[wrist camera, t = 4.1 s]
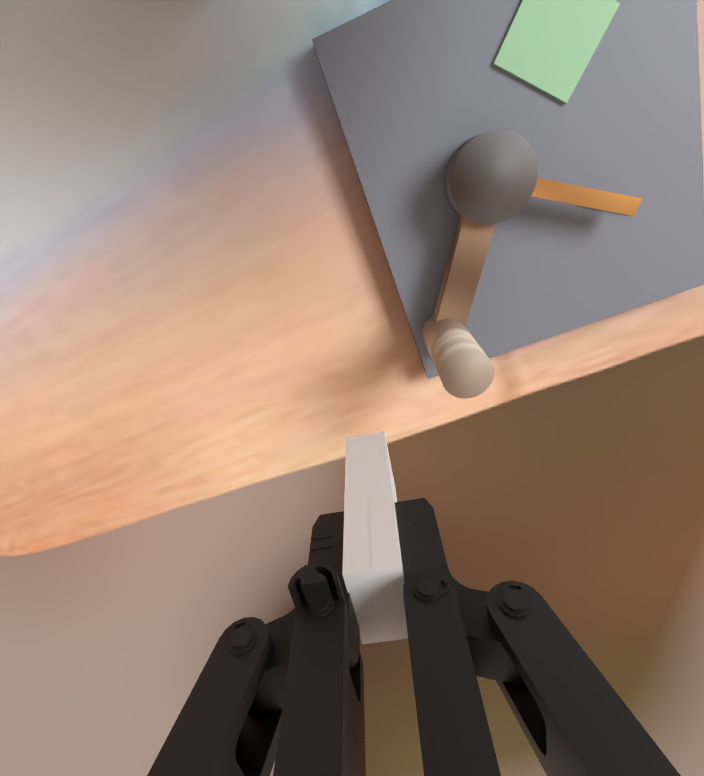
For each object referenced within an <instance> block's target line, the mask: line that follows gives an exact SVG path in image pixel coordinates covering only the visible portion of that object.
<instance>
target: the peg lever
mask: <svg viewBox="0 0 704 776" xmlns="http://www.w3.org/2000/svg"><path fill="white" fill-rule="evenodd" d="M537 177H538V164H537V158H536V155H535V152H534V150H533V148H532V146H531V145H530V144H529V142H528V141H527V140H526V139H525V138H524V137H522V136H521V135H520V134H518V133H516V132H513V131H510V130H504V129H497V130H491V131H488V132H485V133H482V134H480V135H477V136H474V137H472V138H470V139H469V140H467V141H465V142H464V143H463V144H462V145H461V146H460V147H459V148H458V149H457V150H456V151H455V153H454V154H453V156H452V157H451V159H450V161H449V163H448V166H447V169H446V173H445V182H444V184H445V192H446V196H447V199H448V201H449V203H450V205H451V206H452V208H453V209H454V210H455V211H456V212H457V213H458V214H459V219H458V223H457V227H456V231H455V235H454V238H453V242H452V246H451V250H450V254H449V258H448V261H447V265H446V269H445V273H444V277H443V281H442V285H441V288H440V292H439V296H438V300H437V304H436V308H435V311H434V314H433V315H432V316H430V317H429V318H428V319H427V320H426V322H425V324H424V326H423V329H422V336H423V339H424V342H425V344H426V346H427V349H428V351H429V353H430V356H431V358H432V360H433V363H434V365H435V367H436V369H437V372H438V374H439V376H440V379H441V381H442V383H443V386H444V388H445V389H446V390H447V391H448V392H449V393H450V394H451V395H453V396H455V397H458V398H472V397H475V396H478V395H480V394H481V393H483V392H484V391H485V390H486V389H487V388H488V387H489V386H490V384H491V382H492V380H493V377H494V367H493V364H492V362H491V360H490V359H489V358H488V356H487V355H486V354H485V352H484V351H483V350H482V348H481V347H480V346H479V344H478V343H477V342H476V340H475V339H474V338H473V336H472V335H471V334H470V332H469V331H468V330H467V328H466V327H465V326H466V323H467V320H468V316H469V313H470V309H471V306H472V303H473V299H474V296H475V293H476V289H477V286H478V282H479V279H480V276H481V272H482V269H483V265H484V262H485V259H486V255H487V252H488V249H489V245H490V242H491V238H492V235H493V232H494V228H495V225H496V223H500V222H503V221H505V220H508V219H510V218H511V217H513V216H514V215H516V214H517V213H518V212H519V211H520V210H521V209H522V208H523V207H524V206H525V205H526V204H527V202H528V201H529V199H530V198H531V197H536V198H541V199H546V200H551V201H557V202H562V203H567V204H572V205H577V206H582V207H587V208H593V209H598V210H603V211H608V212H613V213H618V214H623V215H629V216H635V214H636V212H637V210H638V207H639V205H640V203H641V200H642V198H637V197H632V196H627V195H622V194H617V193H612V192H607V191H602V190H597V189H592V188H587V187H582V186H576V185H571V184H566V183H561V182H556V181H551V180H546V179H541V178H537Z"/></svg>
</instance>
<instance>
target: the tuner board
mask: <svg viewBox="0 0 704 776" xmlns="http://www.w3.org/2000/svg"><path fill="white" fill-rule="evenodd" d="M615 1H617V2H618V3H620V5H619V7H618V9H617V11H616V12H615V14H614V16H613V18H612V20H611V22H610V24H609V25H608V27H607V29H606V31H605V33H604V35H603V37H602V39H601V40H600V42H599V44H598V46H597V48H596V50H595V52H594V53H593V55H592V57H591V59H590V61H589V63H588V65H587V67H586V68H585V70H584V72H583V74H582V76H581V78H580V80H579V82H578V83H577V85H576V87H575V89H574V91H573V93H572V95H571V96H570V98H569V100H568V102H567V103H566V104H565V103H563V102H561V101H559V100H558V99H556V98H554V97H552V96H550V95H548V94H547V93H545V92H543V91H541V90H539V89H537V88H535V87H534V86H532V85H530V84H528V83H526V82H524V81H523V80H521V79H519V78H517V77H515V76H513V75H512V74H510V73H508V72H506V71H504V70H502V69H501V68H499V67H497V66H495V65H493V63H494V61H495V58H496V56H497V54H498V52H499V50H500V47H501V45H502V43H503V41H504V39H505V36H506V34H507V32H508V30H509V28H510V26H511V23H512V21H513V19H514V17H515V15H516V12H517V10H518V8H519V6H520V4H521V2H522V0H391V1H389V2H387V3H385V4H383V5H381V6H379V7H377V8H375V9H373V10H371V11H369V12H367V13H365V14H363V15H361V16H359V17H357V18H355V19H353V20H351V21H349V22H347V23H345V24H343V25H341V26H339V27H337V28H335V29H333V30H331V31H329V32H327V33H324V34H322V35H320V36H318V37H316V38H314V39H312V42H313V45H314V48H315V51H316V54H317V57H318V60H319V63H320V66H321V68H322V71H323V74H324V77H325V80H326V83H327V86H328V89H329V92H330V95H331V98H332V101H333V103H334V106H335V109H336V112H337V115H338V118H339V121H340V124H341V127H342V130H343V133H344V135H345V138H346V141H347V144H348V147H349V150H350V153H351V156H352V159H353V162H354V165H355V168H356V170H357V173H358V176H359V179H360V182H361V185H362V188H363V191H364V194H365V197H366V200H367V202H368V205H369V208H370V211H371V214H372V217H373V220H374V223H375V226H376V229H377V232H378V235H379V237H380V240H381V243H382V246H383V249H384V252H385V255H386V258H387V261H388V264H389V267H390V269H391V272H392V275H393V278H394V281H395V284H396V287H397V290H398V293H399V296H400V299H401V302H402V304H403V307H404V310H405V313H406V316H407V319H408V322H409V325H410V328H411V331H412V334H413V336H414V339H415V342H416V345H417V348H418V351H419V354H420V357H421V360H422V363H423V366H424V369H425V371H426V374H427V377H428V378H431V377H434V376H437V375H439V374H438V372H437V369H436V367H435V365H434V363H433V360H432V358H431V356H430V353H429V351H428V349H427V346H426V344H425V342H424V339H423V336H422V329H423V326H424V324H425V322H426V320H427V319H428V318H429V317H430V316H432V315H433V314H434V311H435V308H436V304H437V300H438V296H439V292H440V288H441V285H442V281H443V277H444V273H445V269H446V265H447V261H448V258H449V254H450V250H451V246H452V242H453V238H454V235H455V231H456V227H457V223H458V219H459V214H458V213H457V212H456V211H455V210H454V209H453V208H452V206H451V205H450V203H449V201H448V199H447V196H446V192H445V184H444V182H445V173H446V169H447V166H448V163H449V161H450V159H451V157H452V156H453V154H454V153H455V151H456V150H457V149H458V148H459V147H460V146H461V145H462V144H463V143H464V142H465V141H467V140H469V139H470V138H472V137H474V136H477V135H480V134H482V133H485V132H488V131H491V130H497V129H504V130H510V131H513V132H516V133H518V134H520V135H521V136H522V137H524V138H525V139H526V140H527V141H528V142H529V144H530V145H531V146H532V148H533V150H534V152H535V155H536V158H537V164H538V177H537V178H541V179H546V180H551V181H556V182H561V183H566V184H571V185H576V186H582V187H587V188H592V189H597V190H602V191H607V192H612V193H617V194H622V195H627V196H632V197H637V198H642V200H641V203H640V205H639V207H638V210H637V212H636V214H635V216H629V215H623V214H618V213H613V212H608V211H603V210H598V209H593V208H587V207H582V206H577V205H572V204H567V203H562V202H557V201H551V200H546V199H541V198H536V197H531V198H530V199H529V201H528V202H527V204H526V205H525V206H524V207H523V208H522V209H521V210H520V211H519V212H518V213H517V214H516V215H514V216H513V217H511V218H510V219H508V220H505V221H503V222H500V223H496V225H495V228H494V232H493V235H492V238H491V242H490V245H489V249H488V252H487V255H486V259H485V262H484V265H483V269H482V272H481V276H480V279H479V282H478V286H477V289H476V293H475V296H474V299H473V303H472V306H471V309H470V313H469V316H468V320H467V323H466V326H465V327H466V328H467V330H468V331H469V332H470V334H471V335H472V336H473V338H474V339H475V340H476V342H477V343H478V344H479V346H480V347H481V348H482V350H483V351H484V352H485V354H486V355H487V356H488V358H490V357H493V356H496V355H499V354H502V353H505V352H507V351H510V350H513V349H516V348H519V347H522V346H525V345H528V344H531V343H534V342H537V341H540V340H543V339H546V338H549V337H551V336H554V335H557V334H560V333H563V332H566V331H569V330H572V329H575V328H578V327H581V326H584V325H587V324H590V323H592V322H595V321H598V320H601V319H604V318H607V317H610V316H613V315H616V314H619V313H622V312H625V311H628V310H631V309H634V308H636V307H639V306H642V305H645V304H648V303H651V302H654V301H657V300H660V299H663V298H666V297H669V296H672V295H675V294H678V293H680V292H683V291H686V290H689V289H692V288H695V287H698V286H701V285H704V184H703V158H702V132H701V105H700V79H699V53H698V26H697V0H615Z"/></svg>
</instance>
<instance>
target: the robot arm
mask: <svg viewBox="0 0 704 776" xmlns="http://www.w3.org/2000/svg"><path fill="white" fill-rule="evenodd" d="M288 588H289V591H290V594H291V596H292V599H293V602H294V605H295V608H294V609H293V610H292V611H291V612H289V613H288V614H286V615H285V616H283V617H281V618H278V619H276V620H274V621H272V622H269V623H267V624H264V622H263V621H262V620H261V619H258V618H255V617H248V618H243V619H240V620H238V621H236V622H234V623H233V624H232V625H230V626H229V627H228V628H227V629H226V630H225V631H224V633H223V634H222V636H221V637H220V638H219V640H218V642H217V644H216V646H215V648H214V650H213V652H212V653H211V655H210V657H209V659H208V661H207V663H206V665H205V667H204V668H203V670H202V672H201V674H200V676H199V678H198V680H197V682H196V684H195V686H194V688H193V689H192V691H191V694H190V695H189V697H188V699H187V701H186V703H185V705H184V707H183V708H182V711H181V712H180V714H179V716H178V718H177V720H176V722H175V724H174V726H173V728H172V729H171V732H170V733H169V735H168V737H167V739H166V741H165V743H164V745H163V747H162V749H161V750H160V752H159V754H158V756H157V758H156V760H155V762H154V764H153V766H152V768H151V769H150V771H149V773H148V775H147V776H270V773H271V770H272V767H273V764H274V761H275V767H274V774H273V776H366V765H365V764H366V761H365V720H364V719H365V717H364V672H363V661H362V657H361V653H360V638H361V641H362V644H367V643H375V642H383V641H391V640H399V639H407V638H408V641H409V649H410V658H411V666H412V674H413V683H414V691H415V700H416V709H417V717H418V726H419V735H420V743H421V751H422V760H423V769H424V776H501V775H500V771H499V767H498V762H497V758H496V754H495V750H494V746H493V742H492V738H491V734H490V730H489V726H488V722H487V718H486V714H485V710H484V706H483V702H482V697H481V693H480V689H479V686H478V682H477V677H476V676H479V677H484V678H488V679H492V680H496V681H497V683H498V685H499V687H500V689H501V691H502V692H503V694H504V696H505V698H506V700H507V702H508V704H509V706H510V707H511V709H512V711H513V713H514V715H515V717H516V719H517V720H518V722H519V724H520V726H521V728H522V730H523V732H524V733H525V735H526V737H527V739H528V741H529V743H530V745H531V746H532V748H533V750H534V752H535V754H536V756H537V758H538V759H539V761H540V763H541V765H542V767H543V769H544V771H545V772H546V774H547V776H680V774H679V773H678V772H677V771H676V769H675V768H674V767H673V765H672V764H671V763H670V762H669V760H668V759H667V758H666V756H665V755H664V754H663V753H662V751H661V750H660V749H659V747H658V746H657V745H656V743H655V742H654V741H653V739H652V738H651V737H650V736H649V734H648V733H647V732H646V731H645V729H644V728H643V727H642V725H641V724H640V723H639V721H638V720H637V719H636V718H635V716H634V715H633V714H632V712H631V711H630V710H629V708H628V707H627V706H626V705H625V703H624V702H623V701H622V699H621V698H620V697H619V696H618V694H617V693H616V692H615V690H614V689H613V688H612V687H611V686H610V684H609V683H608V681H607V680H606V679H605V677H604V676H603V675H602V674H601V673H600V671H599V670H598V668H597V667H596V666H595V665H594V663H593V662H592V661H591V659H590V658H589V657H588V656H587V654H586V653H585V652H584V651H583V649H582V648H581V646H580V645H579V644H578V643H577V641H576V640H575V639H574V638H573V636H572V635H571V634H570V632H569V631H568V630H567V628H566V627H565V626H564V625H563V623H562V622H561V621H560V619H559V618H558V617H557V615H556V614H555V613H554V612H553V610H552V609H551V608H550V606H549V605H548V604H547V603H546V601H545V600H544V599H543V597H542V596H541V595H540V594H539V593H538V592H537V591H536V590H535V589H534V588H533V587H531V586H529V585H527V584H524V583H522V582H517V581H506V582H500V583H499V584H497V585H495V586H494V587H492V589H491V590H490V592H486V591H480V590H475V589H471V588H467V587H465V586H463V585H461V584H460V583H459V582H457V581H456V580H455V579H454V578H453V577H452V575H451V574H450V572H449V569H448V566H447V562H446V558H445V554H444V550H443V546H442V541H441V537H440V533H439V530H438V525H437V522H436V517H435V513H434V509H433V507H432V506H431V505H430V504H429V503H428V501H427V500H426V499H425V498H421V499H415V500H408V501H401V502H397V497H396V490H395V484H394V479H393V474H392V468H391V463H390V458H389V453H388V448H387V442H386V437H385V432H378V433H372V434H366V435H360V436H355V437H349V438H346V470H345V503H344V511H343V512H336V513H330V514H323V515H320V516H319V517H318V519H317V521H316V522H315V524H314V526H313V528H312V536H311V545H310V553H309V561H308V565H305V566H304V567H302V568H301V569H299V570H298V571H297V572H296V573H295V574H294V575H293V576H292V578H291V579H290V582H289V585H288ZM275 758H276V760H275Z"/></svg>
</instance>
